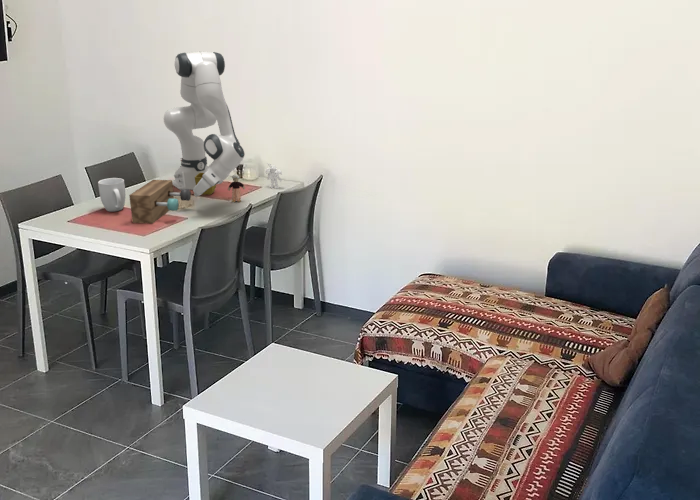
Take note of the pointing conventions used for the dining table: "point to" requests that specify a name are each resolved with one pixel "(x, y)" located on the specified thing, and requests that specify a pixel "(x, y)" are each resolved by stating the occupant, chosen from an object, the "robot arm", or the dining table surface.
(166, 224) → the dining table surface
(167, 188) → the walnut mount
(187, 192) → the knob black
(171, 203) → the knob teal
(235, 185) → the grandmother figurine
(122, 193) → the mug
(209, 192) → the flower pot
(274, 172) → the flower shoulder figurine
